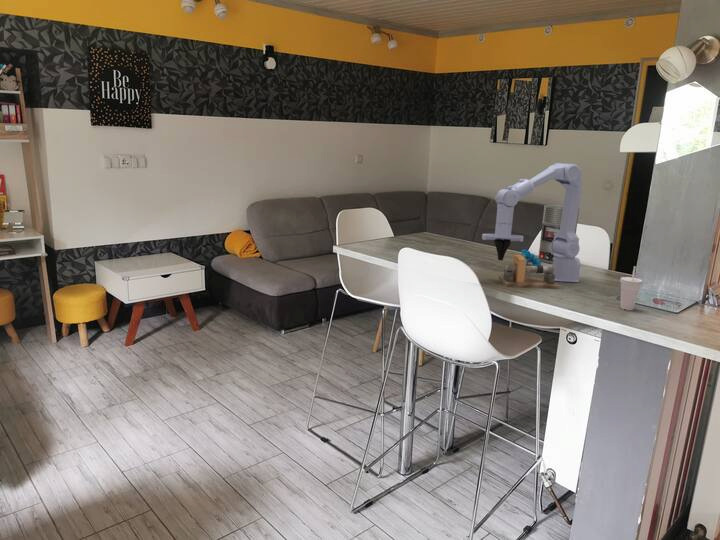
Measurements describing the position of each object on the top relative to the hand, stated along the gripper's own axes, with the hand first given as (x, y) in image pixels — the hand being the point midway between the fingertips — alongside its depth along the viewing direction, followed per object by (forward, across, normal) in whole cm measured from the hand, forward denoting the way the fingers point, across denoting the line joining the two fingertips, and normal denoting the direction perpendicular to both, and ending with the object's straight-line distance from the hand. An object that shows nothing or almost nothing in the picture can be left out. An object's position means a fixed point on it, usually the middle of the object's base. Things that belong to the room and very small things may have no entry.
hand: (500, 259), depth 204 cm
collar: (+7, -7, 0) cm, 10 cm away
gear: (+9, -20, -31) cm, 38 cm away
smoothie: (+9, -35, +28) cm, 46 cm away
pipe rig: (+8, -11, 0) cm, 14 cm away
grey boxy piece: (+9, -33, -40) cm, 53 cm away
